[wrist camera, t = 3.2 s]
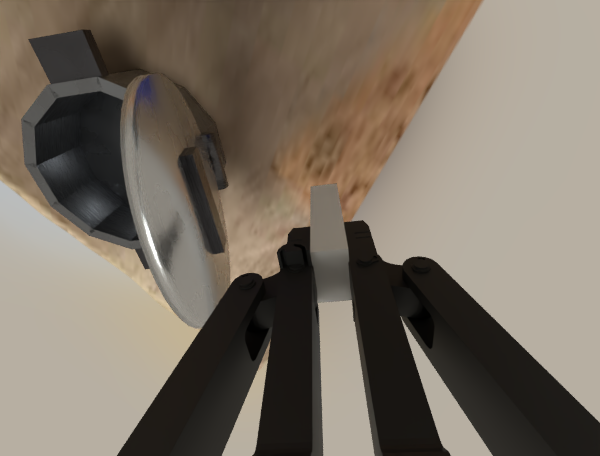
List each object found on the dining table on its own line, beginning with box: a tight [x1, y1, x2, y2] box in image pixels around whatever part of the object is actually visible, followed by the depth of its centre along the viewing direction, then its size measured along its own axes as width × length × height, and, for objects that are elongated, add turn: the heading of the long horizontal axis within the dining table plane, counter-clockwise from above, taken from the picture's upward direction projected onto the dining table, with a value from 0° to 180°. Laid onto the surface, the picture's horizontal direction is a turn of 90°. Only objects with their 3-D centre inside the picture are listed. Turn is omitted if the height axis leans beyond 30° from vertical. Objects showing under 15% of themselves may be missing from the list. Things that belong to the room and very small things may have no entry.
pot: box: [21, 30, 228, 269], centre depth 31 cm, size 22×18×7 cm
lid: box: [120, 73, 230, 328], centre depth 20 cm, size 16×16×2 cm
